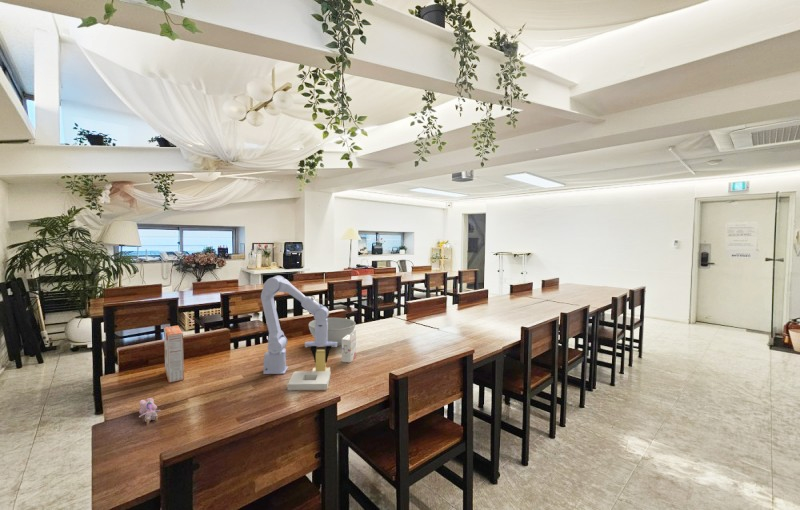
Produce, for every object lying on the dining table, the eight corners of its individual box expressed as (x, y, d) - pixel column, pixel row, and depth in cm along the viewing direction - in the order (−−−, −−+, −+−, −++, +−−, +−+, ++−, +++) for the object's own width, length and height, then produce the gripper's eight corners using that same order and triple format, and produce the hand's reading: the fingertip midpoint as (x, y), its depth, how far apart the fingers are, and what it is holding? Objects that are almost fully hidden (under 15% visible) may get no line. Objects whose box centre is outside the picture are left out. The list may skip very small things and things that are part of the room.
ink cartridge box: (346, 356, 183) (347, 328, 182) (355, 356, 182) (356, 329, 181) (341, 361, 174) (341, 333, 173) (350, 362, 173) (350, 334, 172)
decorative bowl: (318, 335, 217) (318, 316, 216) (360, 338, 213) (360, 319, 212) (300, 349, 190) (300, 327, 189) (347, 353, 187) (348, 331, 186)
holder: (287, 390, 142) (287, 384, 142) (294, 376, 155) (294, 371, 155) (327, 389, 143) (327, 383, 143) (330, 376, 156) (330, 371, 156)
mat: (310, 375, 157) (310, 374, 157) (313, 368, 165) (313, 367, 165) (328, 375, 158) (328, 374, 158) (330, 368, 166) (330, 367, 166)
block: (315, 372, 159) (315, 352, 158) (316, 368, 163) (317, 349, 162) (324, 371, 159) (325, 352, 158) (325, 368, 163) (326, 349, 162)
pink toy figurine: (163, 423, 118) (155, 400, 128) (164, 408, 117) (155, 386, 127) (140, 430, 114) (134, 406, 124) (141, 414, 113) (134, 391, 123)
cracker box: (164, 372, 156) (163, 326, 154) (179, 369, 159) (179, 324, 158) (167, 383, 145) (166, 334, 143) (184, 380, 148) (183, 332, 147)
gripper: (303, 335, 155) (303, 365, 156) (336, 335, 157) (335, 365, 158) (306, 331, 163) (306, 359, 163) (337, 331, 164) (337, 359, 165)
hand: (321, 361), depth 161 cm, fingers closed on block, 4 cm apart
